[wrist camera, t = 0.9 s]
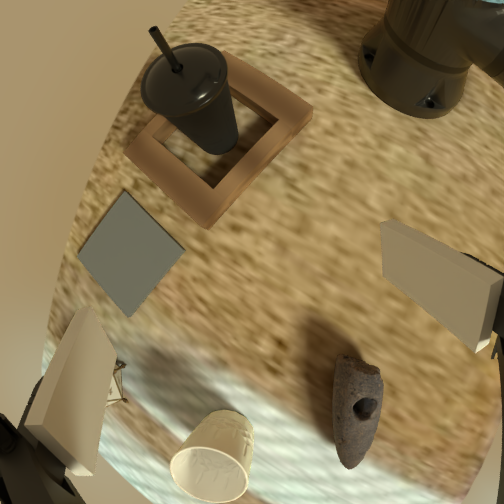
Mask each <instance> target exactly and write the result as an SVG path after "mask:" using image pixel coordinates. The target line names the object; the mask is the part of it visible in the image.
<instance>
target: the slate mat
mask: <svg viewBox="0 0 504 504" xmlns="http://www.w3.org/2000/svg"><path fill="white" fill-rule="evenodd" d="M185 251H186V250H185V249H184V248H183V247H182V246H181V245H180V244H179V243H178V242H177V241H176V240H175V239H174V238H173V237H172V236H171V235H170V234H169V233H168V232H167V231H166V230H165V229H164V228H163V227H162V226H161V225H160V224H159V223H158V222H157V221H156V220H155V219H154V218H153V217H152V216H151V215H150V214H149V213H148V212H147V211H146V210H145V209H144V208H143V207H142V206H141V205H140V204H139V203H138V202H137V201H136V200H135V199H134V198H133V197H132V196H131V195H130V194H129V193H128V192H126V191H124V192H123V194H122V195H121V196H120V198H119V199H118V200H117V201H116V203H115V204H114V205H113V207H112V208H111V209H110V211H109V212H108V213H107V215H106V216H105V217H104V219H103V220H102V221H101V223H100V224H99V225H98V227H97V228H96V230H95V231H94V232H93V234H92V235H91V237H90V238H89V240H88V241H87V242H86V244H85V245H84V247H83V248H82V250H81V251H80V253H79V254H78V256H77V257H78V259H79V260H80V261H81V262H82V264H83V265H84V266H85V268H86V269H87V270H88V271H89V273H90V274H91V275H92V276H93V278H94V279H95V280H96V281H97V282H98V284H99V285H100V286H101V287H102V289H103V290H104V291H105V292H106V293H107V294H108V296H109V297H110V298H111V299H112V300H113V301H114V303H115V304H116V305H117V306H118V307H119V308H120V309H121V311H122V312H123V313H124V314H125V315H126V316H127V317H131V316H132V315H133V313H134V312H135V311H136V310H137V308H138V307H139V306H140V305H141V304H142V302H143V301H144V300H145V299H146V297H147V296H148V295H149V294H150V292H151V291H152V290H153V289H154V288H155V286H156V285H157V284H158V283H159V282H160V280H161V279H162V278H163V277H164V275H165V274H166V273H167V272H168V271H169V269H170V268H171V267H172V266H173V265H174V264H175V262H176V261H177V260H178V259H179V258H180V256H181V255H182V254H183V253H184V252H185Z"/></svg>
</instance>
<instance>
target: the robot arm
mask: <svg viewBox="0 0 504 504" xmlns="http://www.w3.org/2000/svg"><path fill="white" fill-rule="evenodd" d="M473 63H474V64H475V65H476V66H478V67H479V68H480V69H482V70H483V71H484V72H485V73H487V74H488V75H489V76H490V77H491V78H493V79H494V80H495V81H496V82H497V83H498V84H500V85H501V86H502V87H503V88H504V0H389V1H388V5H387V8H386V12H385V15H384V17H383V18H382V19H381V20H380V21H379V22H378V23H377V24H376V25H375V26H374V27H373V28H372V29H371V30H370V31H369V32H368V33H367V34H366V35H365V37H364V39H363V41H362V43H361V47H360V50H359V55H358V64H359V68H360V71H361V74H362V76H363V78H364V80H365V81H366V83H367V84H368V86H369V87H370V88H371V90H372V91H373V92H374V93H375V94H376V95H377V96H378V97H379V98H380V99H382V100H383V101H384V102H385V103H387V104H388V105H390V106H391V107H393V108H394V109H396V110H398V111H400V112H402V113H404V114H407V115H410V116H413V117H417V118H423V119H434V118H439V117H442V116H444V115H446V114H448V113H449V112H450V111H451V110H452V109H453V108H454V107H455V106H456V105H457V104H458V102H459V101H460V99H461V97H462V94H463V90H464V86H465V82H466V77H467V73H468V69H469V68H470V66H471V65H472V64H473ZM380 231H381V247H382V270H383V277H384V278H386V279H387V280H388V281H390V282H391V283H392V284H393V285H395V286H396V287H397V288H398V289H400V290H401V291H402V292H403V293H405V294H406V295H407V296H408V297H410V298H411V299H412V300H413V301H414V302H416V303H417V304H418V305H419V306H421V307H422V308H423V309H424V310H425V311H427V312H428V313H429V314H430V315H431V316H433V317H434V318H435V319H436V320H437V321H439V322H440V323H441V324H442V325H443V326H444V327H446V328H447V329H448V330H449V331H450V332H451V333H453V334H454V335H455V336H456V337H457V338H458V339H459V340H461V341H462V342H463V343H464V344H465V345H466V346H467V347H469V348H470V349H471V350H472V351H473V352H474V353H476V352H478V351H479V350H481V349H482V348H483V347H485V346H486V345H488V344H489V340H490V337H491V333H492V330H493V331H494V332H495V333H497V334H498V336H497V339H496V343H495V346H494V349H493V352H492V356H491V359H494V357H495V354H496V353H497V354H498V358H497V359H498V362H499V371H500V382H501V397H502V456H501V471H500V481H499V489H498V497H497V504H504V273H502V272H500V271H499V270H497V269H495V268H493V267H492V266H490V265H486V263H484V262H483V261H479V259H477V258H475V257H473V256H472V255H470V254H466V253H462V252H459V251H457V250H455V249H453V248H451V247H449V246H447V245H445V244H443V243H442V242H440V241H438V240H436V239H434V238H432V237H430V236H428V235H426V234H424V233H422V232H420V231H418V230H416V229H414V228H411V227H409V226H407V225H405V224H403V223H401V222H399V221H397V220H395V219H391V220H388V221H384V222H381V223H380ZM116 359H117V353H116V351H115V350H114V348H113V346H112V344H111V343H110V341H109V339H108V337H107V335H106V333H105V331H104V330H103V328H102V326H101V324H100V322H99V320H98V318H97V316H96V314H95V312H94V310H93V308H92V306H89V307H85V308H81V309H78V310H77V311H76V313H75V315H74V317H73V318H72V320H71V322H70V324H69V326H68V328H67V330H66V332H65V334H64V336H63V338H62V340H61V342H60V344H59V346H58V348H57V350H56V352H55V354H54V356H53V358H52V360H51V362H50V364H49V367H48V369H47V371H46V373H45V375H44V376H43V377H42V378H41V379H40V380H39V381H38V383H37V384H36V385H35V388H34V389H33V392H32V394H31V397H30V399H29V401H28V405H27V406H26V408H25V411H24V413H23V415H22V418H21V420H20V423H19V426H18V428H17V429H16V428H15V427H14V426H13V425H12V423H11V422H10V421H9V420H8V419H7V418H6V417H5V416H4V414H1V413H0V501H1V504H86V503H85V502H84V500H83V499H82V497H81V496H80V494H79V493H78V492H77V490H76V488H75V487H74V486H73V484H72V482H71V481H70V480H69V478H68V477H66V476H65V475H64V474H65V469H66V467H67V468H68V469H69V470H70V471H71V472H73V473H74V474H75V475H76V476H94V475H95V467H96V461H97V454H98V447H99V441H100V435H101V429H102V424H103V419H104V413H105V408H106V403H107V398H108V394H109V389H110V384H111V380H112V375H113V371H114V367H115V363H116Z"/></svg>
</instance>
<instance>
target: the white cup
mask: <svg viewBox="0 0 504 504" xmlns="http://www.w3.org/2000/svg"><path fill="white" fill-rule="evenodd" d="M253 443H254V430H253V426H252V425H251V424H250V422H249V421H248V419H247V418H246V417H244V416H242V415H241V414H239V413H237V412H235V411H229V410H219V411H214V412H211V413H210V414H209V415H208V416H206V417H205V418H204V419H203V420H202V422H201V423H200V424H199V425H198V426H197V427H196V428H195V429H194V431H193V432H192V433H191V434H190V435H189V437H188V438H187V439H186V441H185V442H184V443H183V444H182V446H181V447H180V448H179V450H178V451H177V452H176V453H175V455H174V456H173V457H172V459H171V462H170V473H171V476H172V478H173V480H174V481H175V483H176V484H177V485H178V486H179V487H180V488H181V489H182V490H183V491H184V492H186V493H187V494H189V495H191V496H192V497H195V498H197V499H199V500H203V501H206V502H213V503H223V502H229V501H232V500H235V499H237V498H239V497H240V496H241V495H242V494H243V493H244V492H245V491H246V489H247V486H248V481H249V475H250V469H251V463H252V455H253Z"/></svg>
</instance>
